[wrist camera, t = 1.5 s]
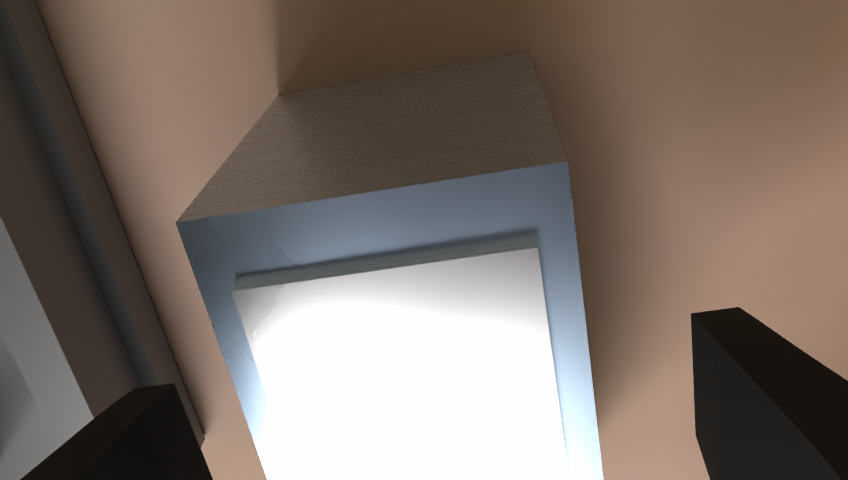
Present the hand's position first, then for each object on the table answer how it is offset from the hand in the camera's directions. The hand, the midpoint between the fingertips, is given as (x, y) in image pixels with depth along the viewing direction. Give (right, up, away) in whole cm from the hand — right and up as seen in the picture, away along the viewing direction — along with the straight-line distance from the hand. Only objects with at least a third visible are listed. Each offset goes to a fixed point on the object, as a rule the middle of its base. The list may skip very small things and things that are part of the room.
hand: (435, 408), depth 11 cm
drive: (0, +1, +3) cm, 4 cm away
